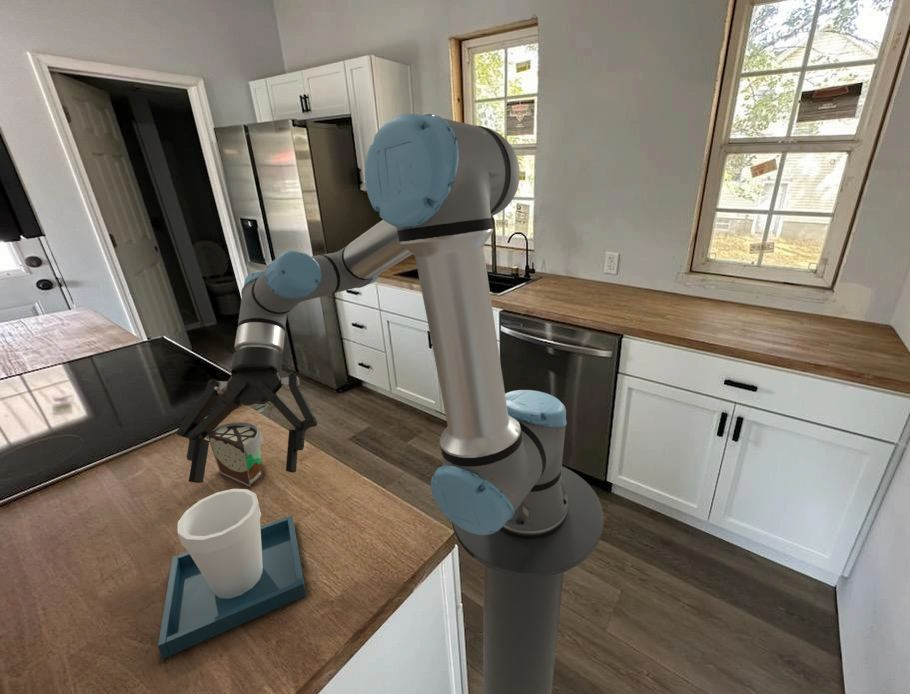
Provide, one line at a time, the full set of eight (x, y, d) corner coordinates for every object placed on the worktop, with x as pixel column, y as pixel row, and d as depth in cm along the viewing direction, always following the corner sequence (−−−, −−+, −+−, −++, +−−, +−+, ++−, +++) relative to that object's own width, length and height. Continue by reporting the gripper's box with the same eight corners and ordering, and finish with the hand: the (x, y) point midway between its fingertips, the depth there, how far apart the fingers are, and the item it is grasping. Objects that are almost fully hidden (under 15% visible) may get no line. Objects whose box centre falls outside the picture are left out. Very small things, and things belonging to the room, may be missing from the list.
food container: (283, 470, 86) (275, 430, 82) (255, 489, 80) (245, 446, 77) (244, 454, 90) (234, 415, 87) (215, 471, 85) (204, 430, 81)
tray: (294, 525, 72) (292, 514, 71) (306, 595, 61) (303, 583, 60) (176, 568, 64) (171, 556, 63) (162, 659, 52) (157, 646, 51)
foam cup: (287, 568, 64) (272, 503, 59) (225, 621, 56) (202, 550, 52) (249, 543, 68) (232, 480, 63) (187, 589, 60) (162, 522, 56)
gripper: (337, 356, 79) (333, 469, 71) (190, 364, 74) (167, 488, 66) (328, 340, 73) (322, 464, 64) (166, 349, 68) (137, 484, 59)
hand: (244, 476), depth 65 cm, fingers open, 13 cm apart
